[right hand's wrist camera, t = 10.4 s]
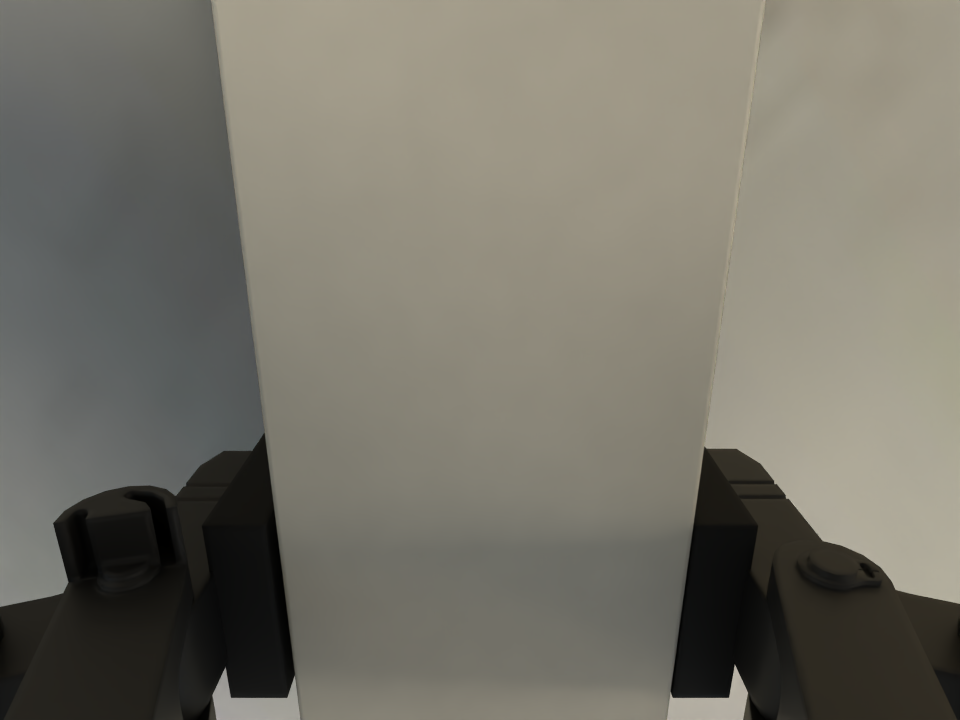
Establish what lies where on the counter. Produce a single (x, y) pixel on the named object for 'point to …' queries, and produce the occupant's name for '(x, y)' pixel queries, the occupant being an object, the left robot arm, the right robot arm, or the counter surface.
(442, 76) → the beam
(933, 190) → the counter surface
